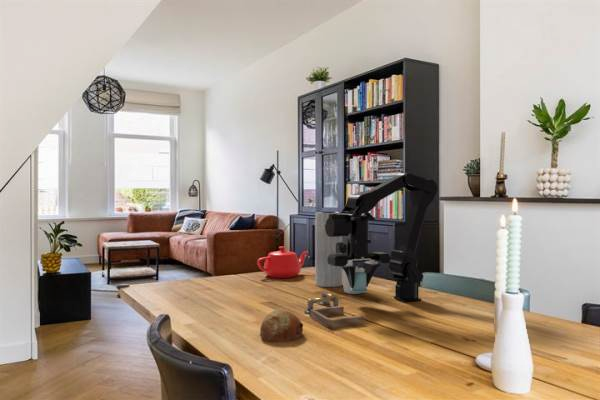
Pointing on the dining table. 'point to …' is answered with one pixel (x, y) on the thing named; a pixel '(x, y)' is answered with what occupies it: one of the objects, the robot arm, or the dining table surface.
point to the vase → (325, 253)
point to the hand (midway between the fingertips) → (359, 287)
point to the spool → (359, 283)
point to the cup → (346, 282)
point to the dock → (333, 323)
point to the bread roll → (281, 327)
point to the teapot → (282, 263)
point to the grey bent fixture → (322, 301)
